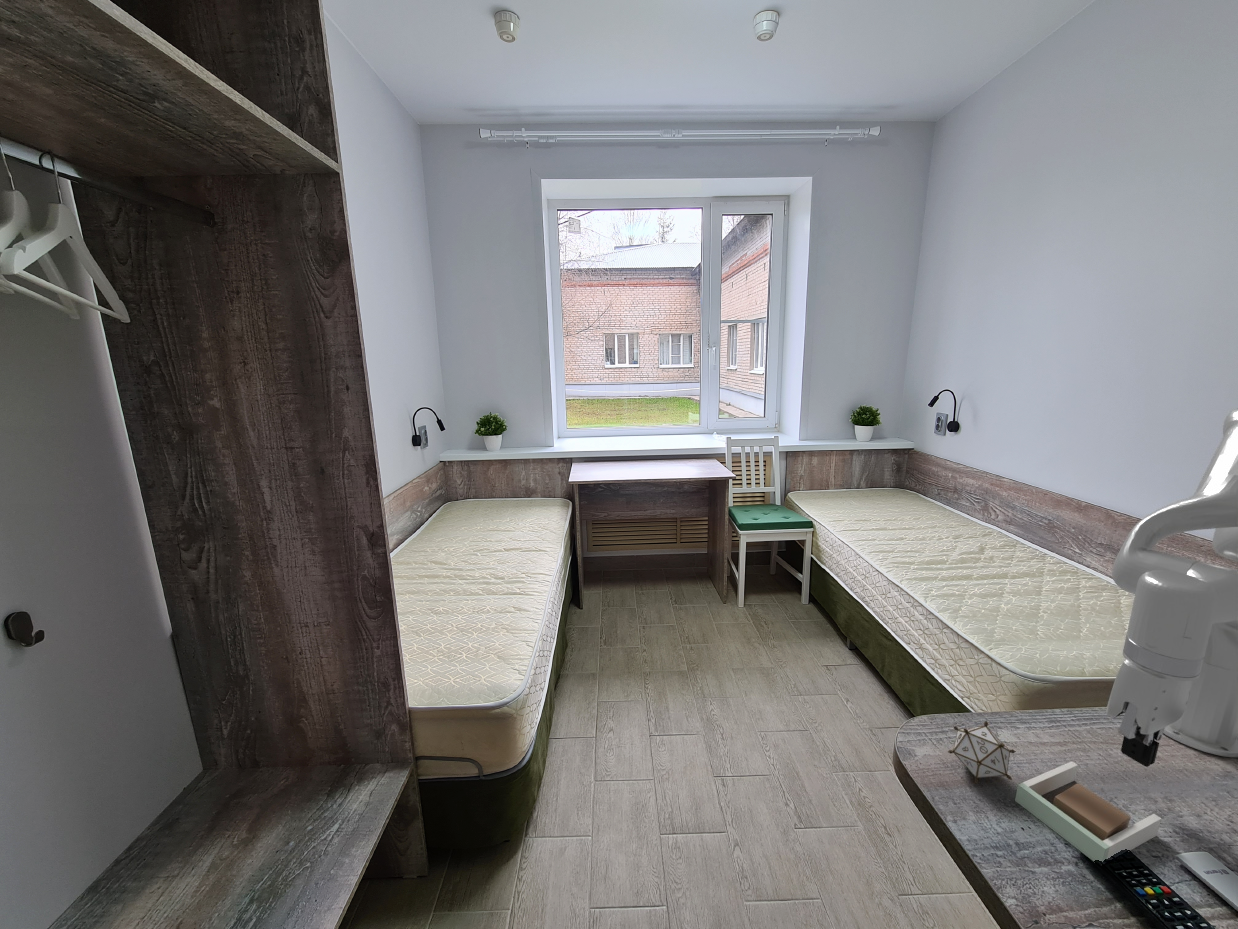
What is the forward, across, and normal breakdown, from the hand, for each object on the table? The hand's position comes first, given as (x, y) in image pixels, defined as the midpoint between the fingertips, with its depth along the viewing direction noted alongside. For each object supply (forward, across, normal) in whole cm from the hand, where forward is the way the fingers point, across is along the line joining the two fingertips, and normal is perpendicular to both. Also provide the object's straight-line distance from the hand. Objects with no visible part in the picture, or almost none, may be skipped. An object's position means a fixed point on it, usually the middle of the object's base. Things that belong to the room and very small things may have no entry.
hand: (1137, 758), depth 74 cm
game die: (+6, +18, -11) cm, 22 cm away
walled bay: (+6, +12, 0) cm, 13 cm away
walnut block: (+6, +14, +2) cm, 15 cm away
